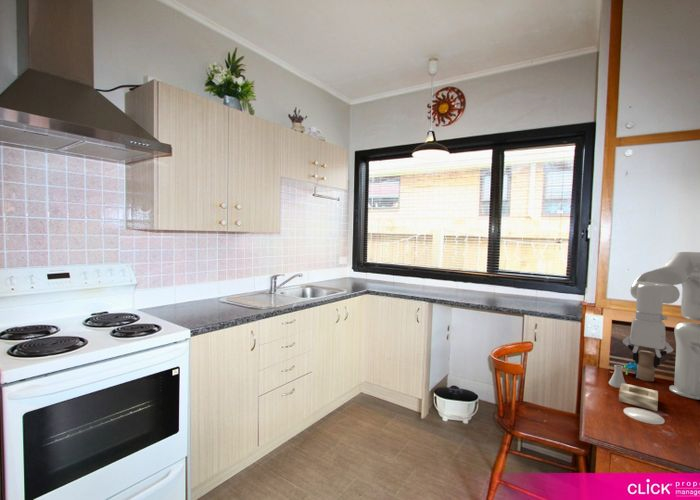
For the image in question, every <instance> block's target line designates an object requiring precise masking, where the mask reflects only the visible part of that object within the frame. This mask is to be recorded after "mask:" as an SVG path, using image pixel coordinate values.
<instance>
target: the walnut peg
mask: <svg viewBox="0 0 700 500" xmlns="http://www.w3.org/2000/svg"><path fill="white" fill-rule="evenodd" d="M637 351H638V364H637V374H636V375H637V378H636V379H639V380H641V381H647V382H654V381H655V370H656V369H655V356H656V352H653V351H649V350H643V349H642V350H641V349H638V350H637Z"/></svg>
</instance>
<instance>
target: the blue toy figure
mask: <svg viewBox="0 0 700 500" xmlns="http://www.w3.org/2000/svg"><path fill="white" fill-rule="evenodd" d="M623 369H624V370H625V375H626V376H628V374H629V373H634V374H635V375H636V376H635V379H638V378H637V364H635V362H634V363H633V362H629V363H626V365H625V364H624V365H623Z"/></svg>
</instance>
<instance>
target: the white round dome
mask: <svg viewBox="0 0 700 500" xmlns="http://www.w3.org/2000/svg"><path fill="white" fill-rule="evenodd" d="M623 413H624V415H626V416H628V417H629V418H631V419H633V420H636V421H638V422H642V423H646V424H651V425H663V424H664V423H665V422H666V421H665V419H664V417H662V416H660V415H659V414H658V413H655V412H652V411H651V410H648V409H647V410H646V409H645V408H644V409H643V408H638V407H625V408H623Z"/></svg>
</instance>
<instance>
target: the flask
mask: <svg viewBox="0 0 700 500" xmlns="http://www.w3.org/2000/svg"><path fill="white" fill-rule="evenodd" d="M613 366H614V371H613V374H612V376H611V378H610V379H609V381H608V384H609V385H610V386H611V387H614V388H617V389H620V387H621V383H625V384H627V382H626V381H625V378H624V375H623V374H624V373H623V369H624V366H623V365H620V364H614V365H613Z"/></svg>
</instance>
